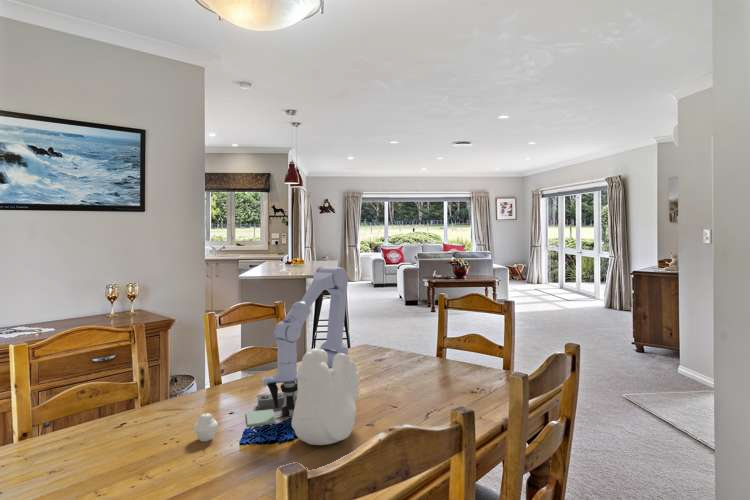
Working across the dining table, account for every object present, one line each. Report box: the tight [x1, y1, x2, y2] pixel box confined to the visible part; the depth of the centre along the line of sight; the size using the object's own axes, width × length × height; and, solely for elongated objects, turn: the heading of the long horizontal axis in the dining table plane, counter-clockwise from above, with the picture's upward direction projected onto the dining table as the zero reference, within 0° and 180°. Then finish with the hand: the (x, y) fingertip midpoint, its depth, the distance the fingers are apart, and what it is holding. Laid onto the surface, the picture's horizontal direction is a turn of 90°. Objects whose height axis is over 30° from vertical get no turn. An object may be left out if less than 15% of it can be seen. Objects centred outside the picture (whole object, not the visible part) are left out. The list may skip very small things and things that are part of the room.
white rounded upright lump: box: [291, 347, 360, 446], centre depth 126 cm, size 25×16×25 cm, turn 136°
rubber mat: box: [245, 408, 277, 427], centre depth 139 cm, size 8×10×1 cm
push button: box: [276, 381, 298, 418], centre depth 141 cm, size 7×5×10 cm
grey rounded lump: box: [193, 412, 219, 442], centre depth 125 cm, size 6×6×7 cm
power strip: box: [257, 391, 297, 411], centre depth 151 cm, size 18×5×4 cm, turn 108°
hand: (287, 405), depth 141 cm, fingers open, 6 cm apart
